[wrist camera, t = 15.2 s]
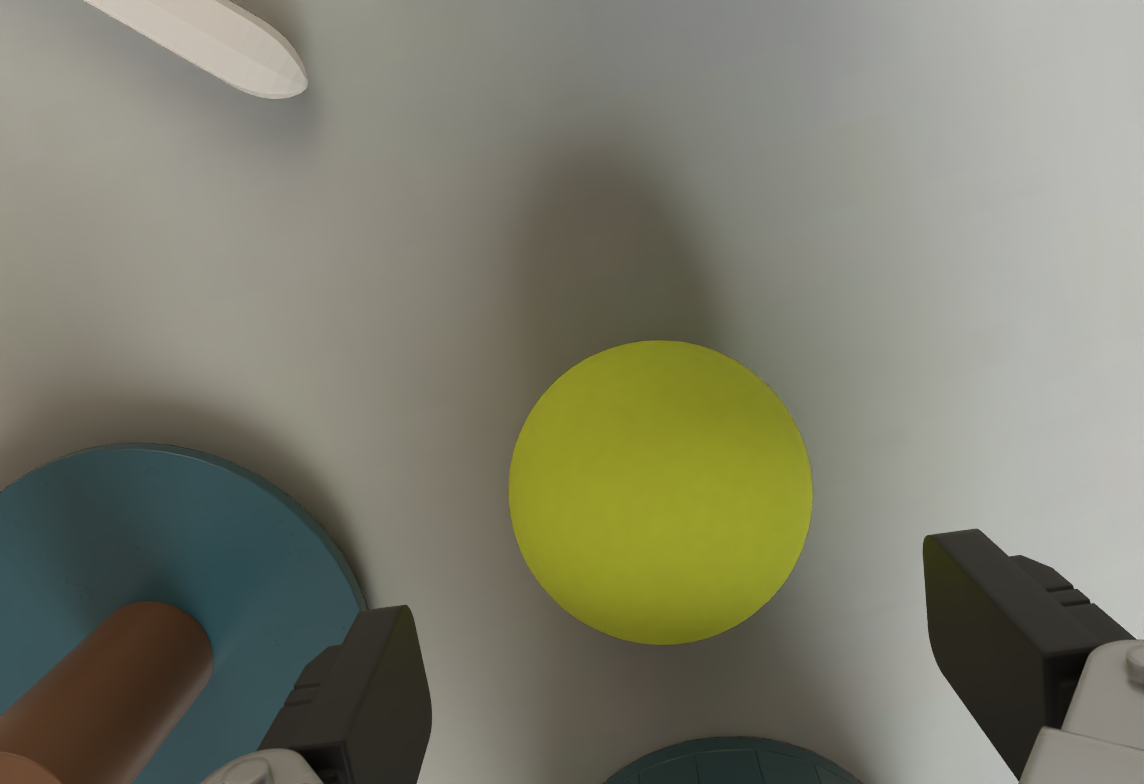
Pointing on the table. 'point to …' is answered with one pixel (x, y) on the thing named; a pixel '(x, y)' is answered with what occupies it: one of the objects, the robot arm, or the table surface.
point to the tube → (732, 764)
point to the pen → (217, 42)
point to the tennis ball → (660, 492)
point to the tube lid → (155, 614)
